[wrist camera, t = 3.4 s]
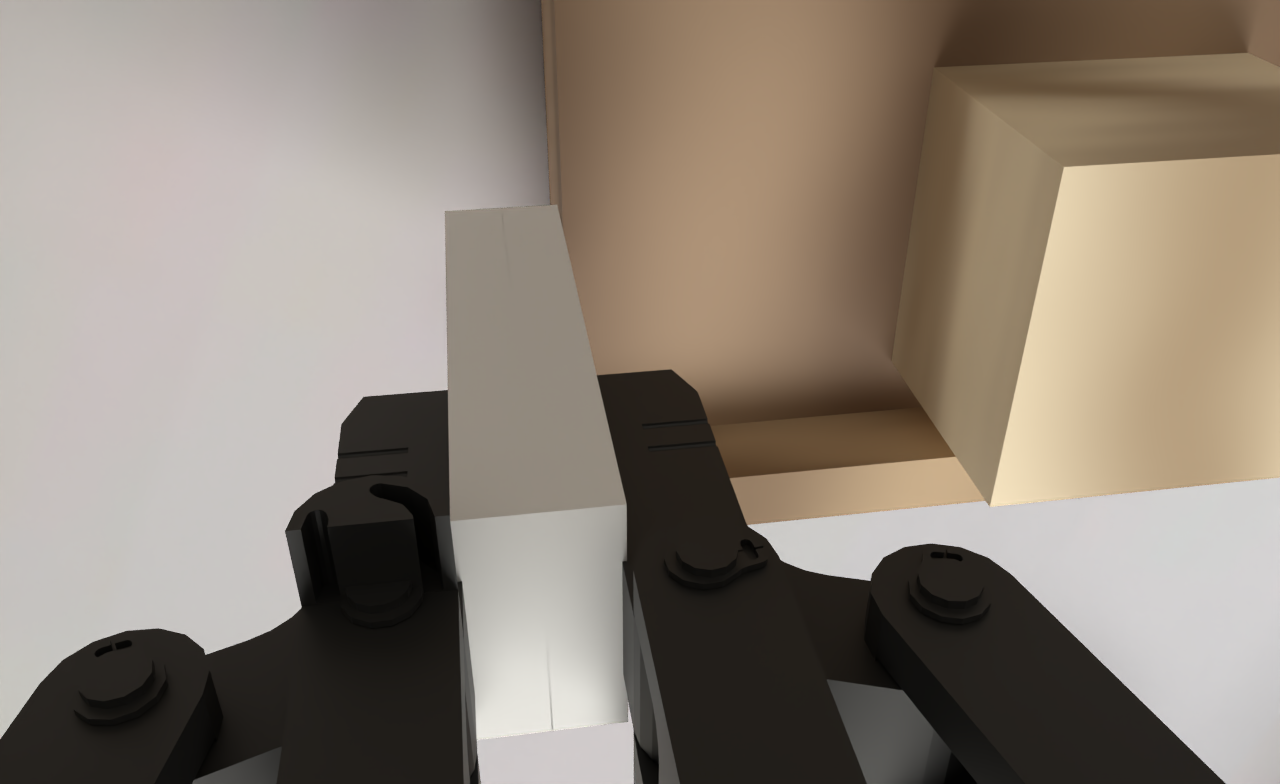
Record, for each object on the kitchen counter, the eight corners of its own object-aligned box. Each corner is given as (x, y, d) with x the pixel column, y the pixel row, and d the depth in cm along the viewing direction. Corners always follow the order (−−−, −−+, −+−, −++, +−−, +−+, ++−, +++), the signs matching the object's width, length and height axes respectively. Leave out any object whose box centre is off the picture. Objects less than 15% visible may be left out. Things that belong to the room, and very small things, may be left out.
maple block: (891, 361, 19) (990, 507, 16) (933, 67, 16) (1064, 167, 13) (1163, 339, 20) (1313, 474, 16) (1247, 53, 17) (1449, 143, 13)
